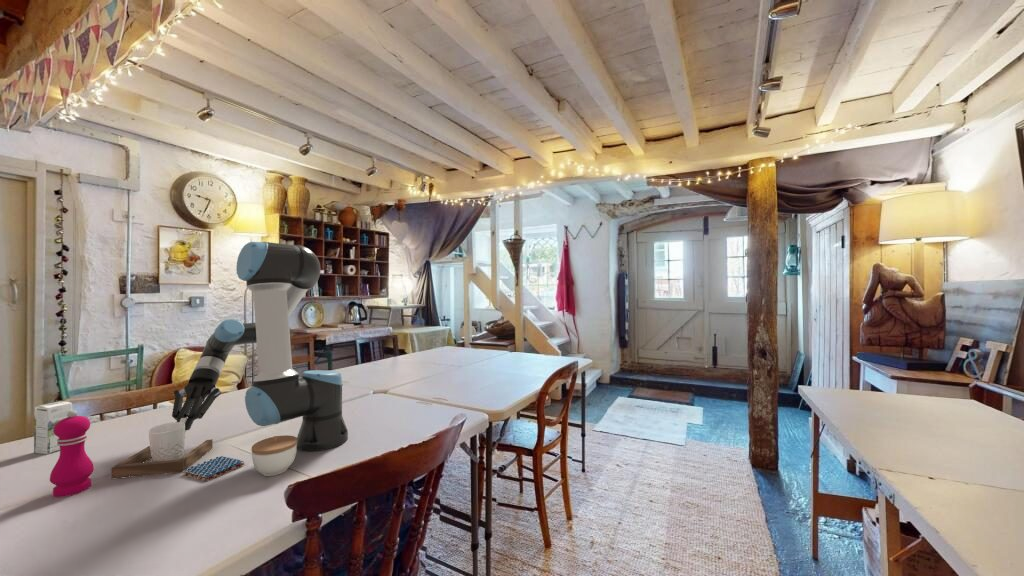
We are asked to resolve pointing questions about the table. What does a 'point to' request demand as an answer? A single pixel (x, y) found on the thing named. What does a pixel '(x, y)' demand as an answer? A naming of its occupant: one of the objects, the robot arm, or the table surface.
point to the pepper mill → (71, 456)
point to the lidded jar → (274, 454)
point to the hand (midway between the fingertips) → (176, 440)
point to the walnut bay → (158, 463)
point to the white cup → (167, 441)
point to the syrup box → (48, 425)
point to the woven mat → (213, 468)
